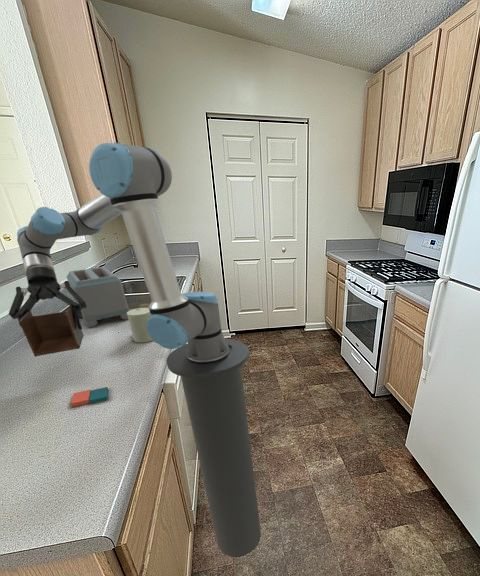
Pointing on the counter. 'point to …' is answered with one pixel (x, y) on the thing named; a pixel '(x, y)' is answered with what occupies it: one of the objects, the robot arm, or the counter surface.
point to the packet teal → (98, 395)
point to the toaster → (99, 294)
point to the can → (139, 324)
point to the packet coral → (80, 398)
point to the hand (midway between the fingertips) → (55, 332)
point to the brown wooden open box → (51, 332)
